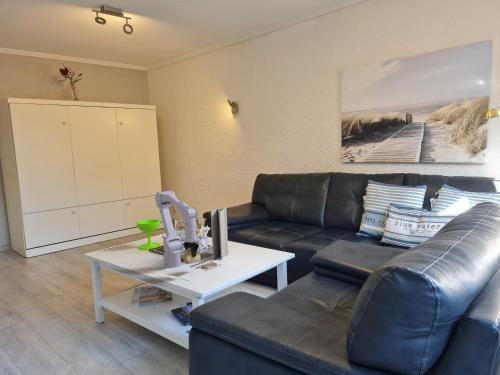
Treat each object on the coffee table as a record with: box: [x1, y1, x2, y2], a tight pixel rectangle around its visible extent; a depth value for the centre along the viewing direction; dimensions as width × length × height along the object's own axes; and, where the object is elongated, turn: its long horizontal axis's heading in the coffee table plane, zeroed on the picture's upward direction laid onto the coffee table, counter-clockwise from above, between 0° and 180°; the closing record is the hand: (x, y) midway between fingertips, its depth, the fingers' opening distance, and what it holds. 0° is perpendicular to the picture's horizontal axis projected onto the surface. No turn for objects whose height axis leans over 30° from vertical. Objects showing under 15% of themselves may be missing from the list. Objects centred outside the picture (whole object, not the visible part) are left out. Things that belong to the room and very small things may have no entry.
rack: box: [190, 260, 222, 272], centre depth 205 cm, size 12×15×2 cm
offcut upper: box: [201, 261, 218, 270], centre depth 204 cm, size 4×8×1 cm, turn 150°
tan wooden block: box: [183, 246, 202, 265], centre depth 194 cm, size 3×9×7 cm, turn 142°
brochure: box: [210, 207, 229, 260], centre depth 222 cm, size 14×6×30 cm, turn 168°
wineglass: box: [136, 218, 163, 251], centre depth 254 cm, size 16×16×18 cm
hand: (191, 256), depth 193 cm, fingers closed on tan wooden block, 3 cm apart
